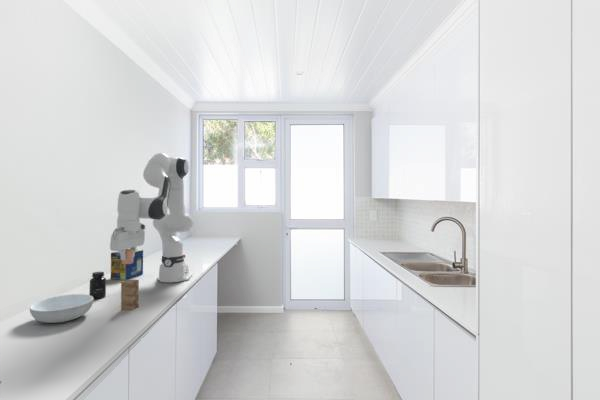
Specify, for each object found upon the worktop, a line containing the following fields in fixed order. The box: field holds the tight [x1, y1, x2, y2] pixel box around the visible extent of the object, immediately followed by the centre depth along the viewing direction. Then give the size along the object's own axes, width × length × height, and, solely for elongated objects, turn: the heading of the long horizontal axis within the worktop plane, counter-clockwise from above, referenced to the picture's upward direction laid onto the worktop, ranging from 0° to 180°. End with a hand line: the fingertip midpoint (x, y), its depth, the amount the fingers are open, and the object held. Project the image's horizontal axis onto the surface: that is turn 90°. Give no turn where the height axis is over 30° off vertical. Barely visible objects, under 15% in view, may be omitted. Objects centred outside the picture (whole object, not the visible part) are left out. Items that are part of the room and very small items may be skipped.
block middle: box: [120, 289, 140, 302], centre depth 150 cm, size 5×5×4 cm
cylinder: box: [122, 248, 134, 264], centre depth 150 cm, size 5×5×6 cm
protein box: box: [110, 249, 144, 281], centre depth 206 cm, size 10×15×16 cm
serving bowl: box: [29, 293, 95, 324], centre depth 136 cm, size 21×21×7 cm
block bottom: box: [120, 297, 140, 311], centre depth 150 cm, size 5×5×4 cm
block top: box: [120, 278, 140, 292], centre depth 150 cm, size 5×5×4 cm
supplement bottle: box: [88, 271, 107, 300], centre depth 165 cm, size 7×7×12 cm
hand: (127, 258), depth 150 cm, fingers closed on cylinder, 5 cm apart
